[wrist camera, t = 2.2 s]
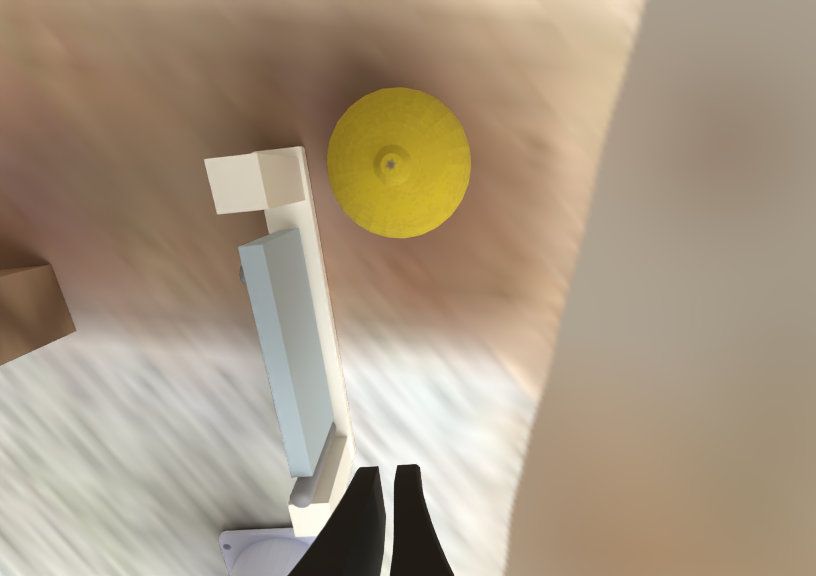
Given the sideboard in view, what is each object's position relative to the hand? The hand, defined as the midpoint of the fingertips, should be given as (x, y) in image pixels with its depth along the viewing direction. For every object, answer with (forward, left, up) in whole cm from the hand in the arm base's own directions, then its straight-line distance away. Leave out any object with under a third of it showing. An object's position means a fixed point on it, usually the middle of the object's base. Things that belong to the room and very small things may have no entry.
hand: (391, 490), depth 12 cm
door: (+2, +5, -9) cm, 11 cm away
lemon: (+10, -1, -10) cm, 14 cm away
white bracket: (+2, +5, -10) cm, 11 cm away
